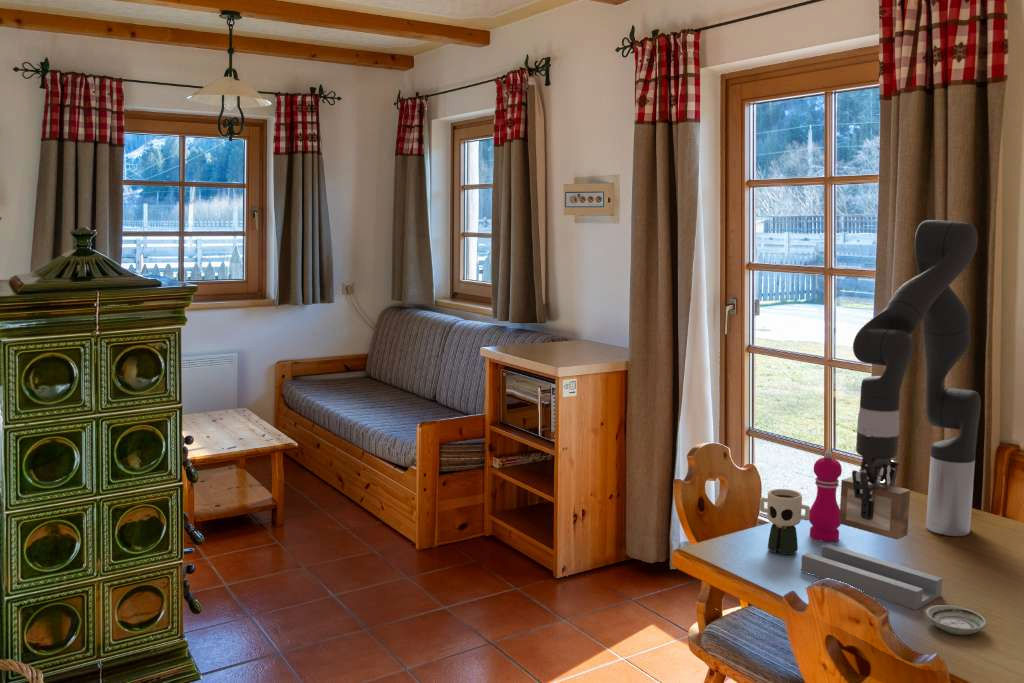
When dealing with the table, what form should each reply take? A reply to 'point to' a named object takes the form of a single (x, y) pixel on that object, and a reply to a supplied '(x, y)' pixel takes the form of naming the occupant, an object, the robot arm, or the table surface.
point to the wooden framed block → (877, 510)
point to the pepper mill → (826, 500)
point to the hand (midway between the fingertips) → (872, 515)
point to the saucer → (955, 619)
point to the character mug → (784, 518)
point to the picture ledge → (874, 576)
